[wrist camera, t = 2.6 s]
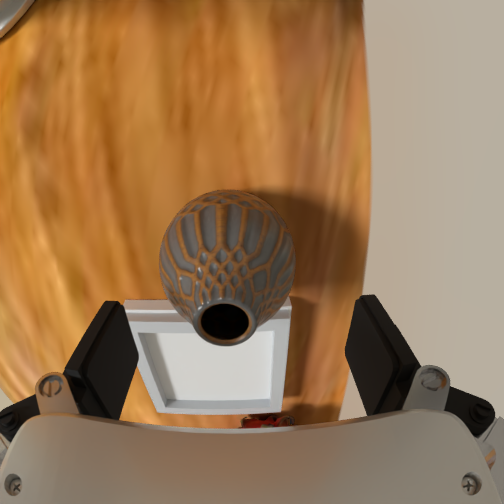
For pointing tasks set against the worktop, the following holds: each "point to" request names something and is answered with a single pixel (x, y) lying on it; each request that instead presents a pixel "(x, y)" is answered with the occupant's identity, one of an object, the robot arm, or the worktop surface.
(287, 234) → the vase
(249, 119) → the worktop surface
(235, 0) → the worktop surface
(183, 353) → the baseplate
